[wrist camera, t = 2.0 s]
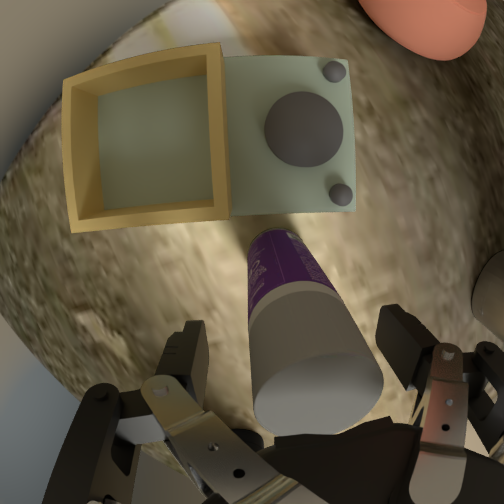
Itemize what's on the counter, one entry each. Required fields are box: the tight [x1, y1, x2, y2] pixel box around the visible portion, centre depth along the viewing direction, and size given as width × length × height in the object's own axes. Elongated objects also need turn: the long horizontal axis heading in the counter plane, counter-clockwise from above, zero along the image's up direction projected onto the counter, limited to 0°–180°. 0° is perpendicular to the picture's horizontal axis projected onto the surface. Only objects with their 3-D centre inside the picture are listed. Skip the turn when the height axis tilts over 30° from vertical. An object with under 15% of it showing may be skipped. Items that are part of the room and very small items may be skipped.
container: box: [248, 228, 384, 436], centre depth 15 cm, size 5×5×15 cm
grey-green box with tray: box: [62, 42, 356, 233], centre depth 15 cm, size 16×9×9 cm, turn 93°
